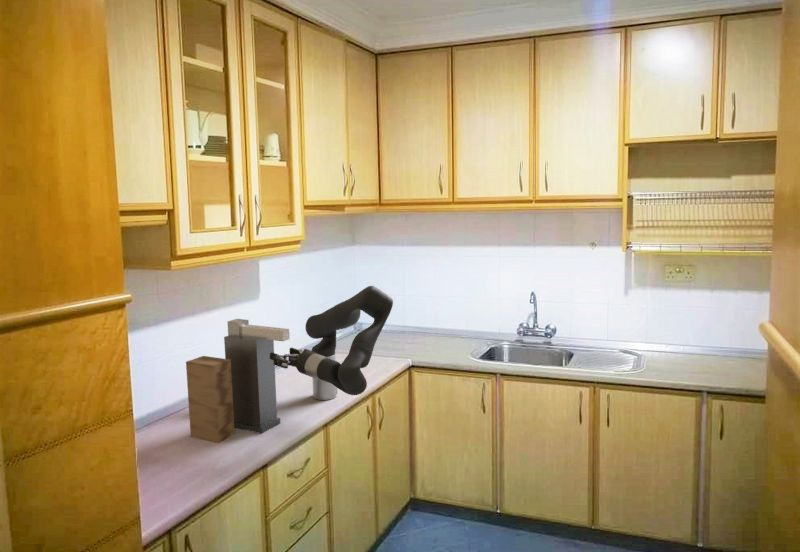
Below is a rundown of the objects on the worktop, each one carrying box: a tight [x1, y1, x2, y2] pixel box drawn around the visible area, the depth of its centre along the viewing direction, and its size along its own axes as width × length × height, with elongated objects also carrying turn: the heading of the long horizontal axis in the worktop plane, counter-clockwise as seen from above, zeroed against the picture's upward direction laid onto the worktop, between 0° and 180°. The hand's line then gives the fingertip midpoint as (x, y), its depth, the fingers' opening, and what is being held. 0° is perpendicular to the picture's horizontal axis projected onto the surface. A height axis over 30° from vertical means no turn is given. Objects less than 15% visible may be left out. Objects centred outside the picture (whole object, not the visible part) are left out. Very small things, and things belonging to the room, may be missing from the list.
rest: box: [185, 355, 236, 444], centre depth 210 cm, size 8×12×26 cm, turn 63°
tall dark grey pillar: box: [223, 335, 281, 434], centre depth 219 cm, size 10×16×32 cm, turn 63°
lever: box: [226, 318, 290, 342], centre depth 214 cm, size 5×23×5 cm, turn 63°
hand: (280, 353), depth 210 cm, fingers open, 8 cm apart
